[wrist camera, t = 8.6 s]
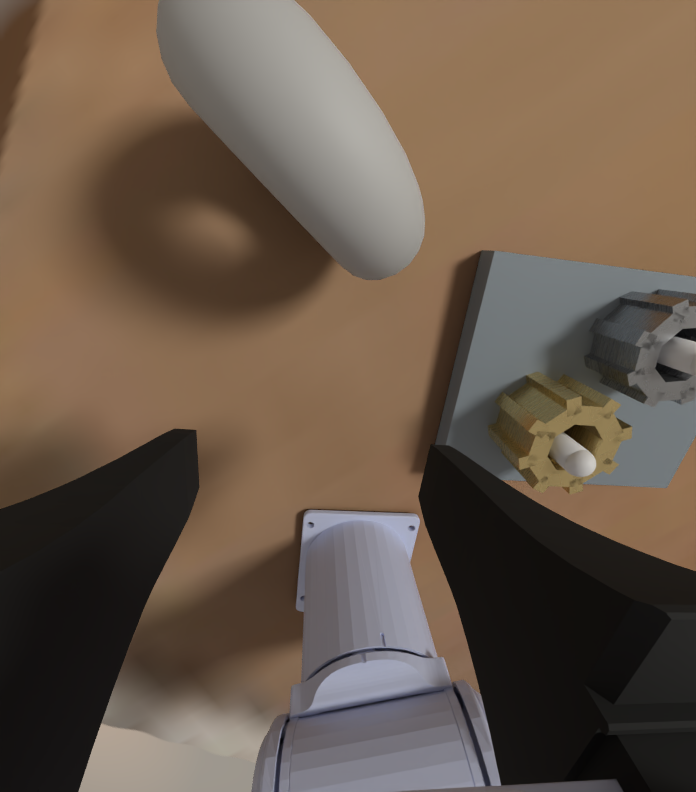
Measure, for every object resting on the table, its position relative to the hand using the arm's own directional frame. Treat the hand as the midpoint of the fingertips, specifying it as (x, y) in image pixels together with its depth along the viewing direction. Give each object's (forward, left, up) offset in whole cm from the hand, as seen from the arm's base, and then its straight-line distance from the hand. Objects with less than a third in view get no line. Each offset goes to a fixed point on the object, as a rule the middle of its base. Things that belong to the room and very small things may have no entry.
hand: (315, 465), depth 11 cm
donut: (+9, +1, -10) cm, 14 cm away
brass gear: (-1, -13, -8) cm, 16 cm away
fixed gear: (+4, -17, -8) cm, 19 cm away
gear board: (+1, -16, -10) cm, 19 cm away
